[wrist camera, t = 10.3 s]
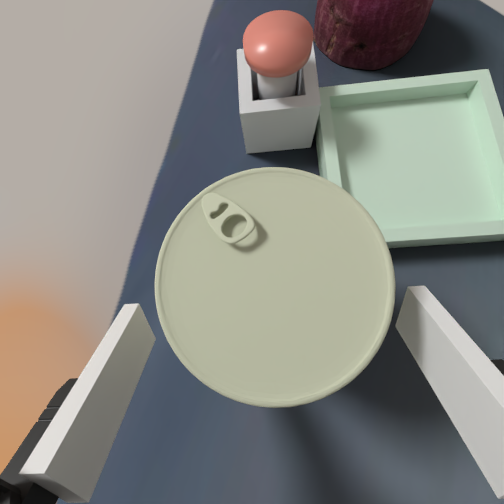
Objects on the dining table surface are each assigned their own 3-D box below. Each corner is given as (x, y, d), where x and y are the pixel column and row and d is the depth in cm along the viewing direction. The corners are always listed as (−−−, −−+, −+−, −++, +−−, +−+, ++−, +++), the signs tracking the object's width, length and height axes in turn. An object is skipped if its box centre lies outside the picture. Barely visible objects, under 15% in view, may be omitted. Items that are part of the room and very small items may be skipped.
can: (278, 217, 22) (284, 115, 10) (352, 299, 20) (466, 292, 8) (195, 283, 21) (101, 256, 10) (263, 375, 19) (250, 485, 8)
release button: (299, 87, 23) (309, 6, 17) (304, 130, 22) (316, 61, 16) (249, 92, 23) (241, 15, 17) (252, 135, 22) (244, 70, 16)
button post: (304, 93, 24) (312, 40, 19) (310, 147, 23) (320, 105, 18) (243, 99, 25) (236, 49, 20) (246, 153, 23) (239, 113, 18)
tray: (465, 94, 23) (488, 68, 20) (506, 240, 20) (539, 231, 17) (311, 110, 24) (316, 88, 21) (328, 252, 21) (336, 245, 18)
